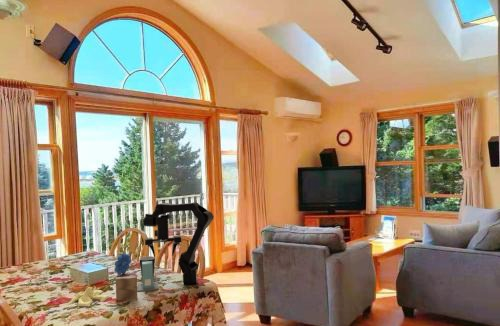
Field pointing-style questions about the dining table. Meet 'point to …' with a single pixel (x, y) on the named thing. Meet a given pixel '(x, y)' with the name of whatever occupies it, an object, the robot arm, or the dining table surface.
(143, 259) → the coffee mug
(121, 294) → the walnut screen
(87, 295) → the cloth
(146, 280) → the letter block
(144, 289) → the slate coaster
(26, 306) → the dining table surface
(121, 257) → the grapes
